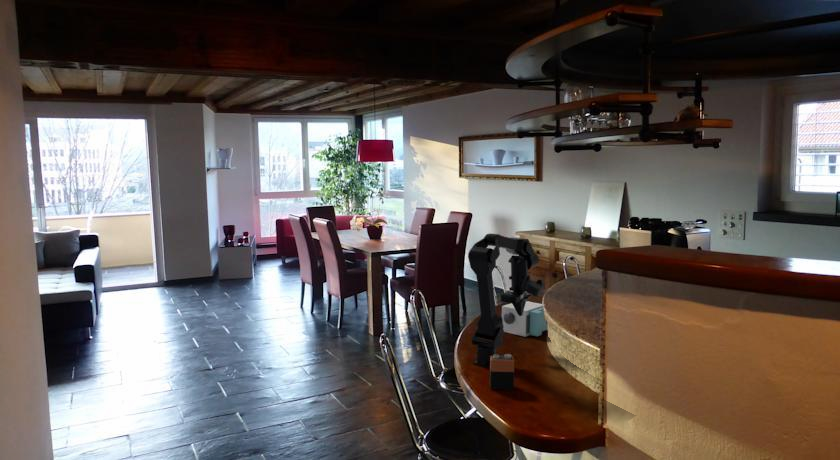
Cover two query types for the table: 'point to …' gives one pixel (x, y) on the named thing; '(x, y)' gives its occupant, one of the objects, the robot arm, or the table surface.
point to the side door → (537, 322)
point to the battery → (502, 372)
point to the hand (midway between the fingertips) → (520, 315)
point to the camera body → (518, 318)
